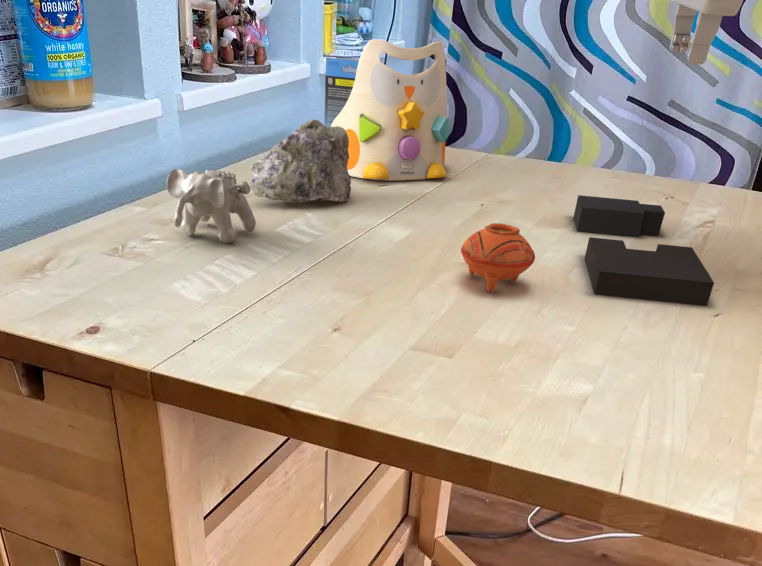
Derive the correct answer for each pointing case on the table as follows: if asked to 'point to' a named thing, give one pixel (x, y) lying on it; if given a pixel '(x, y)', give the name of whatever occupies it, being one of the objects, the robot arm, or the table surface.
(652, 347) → the table surface
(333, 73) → the tape cartridge
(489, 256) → the pot
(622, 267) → the black notched square block
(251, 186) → the mineral rock
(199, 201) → the gray elephant figurine
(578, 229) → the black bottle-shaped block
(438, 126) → the shape sorter
